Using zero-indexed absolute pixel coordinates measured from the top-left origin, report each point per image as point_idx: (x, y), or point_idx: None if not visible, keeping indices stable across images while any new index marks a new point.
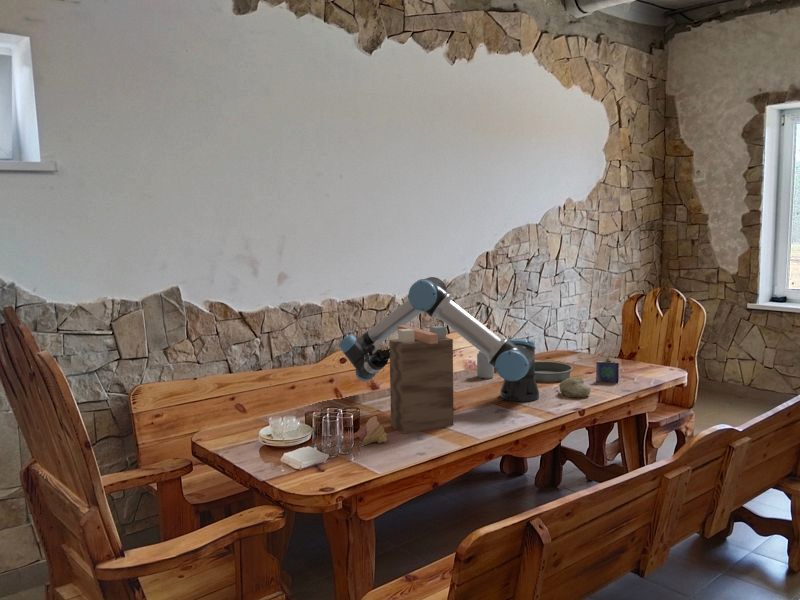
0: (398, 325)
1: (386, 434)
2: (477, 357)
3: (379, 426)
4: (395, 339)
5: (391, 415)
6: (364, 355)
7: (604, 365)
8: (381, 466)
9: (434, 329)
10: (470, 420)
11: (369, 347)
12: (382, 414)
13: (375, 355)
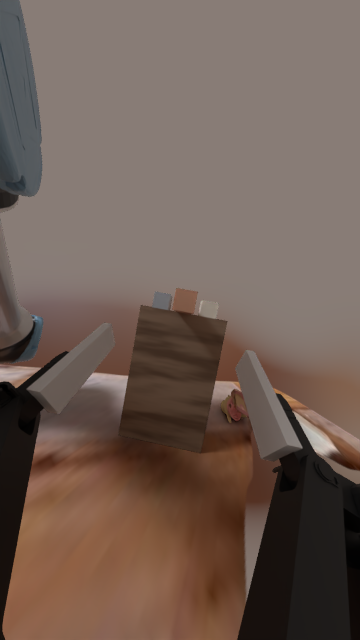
0: (195, 291)
1: (222, 401)
2: None
3: (230, 396)
4: (216, 319)
5: (203, 435)
6: (352, 539)
7: None
8: (230, 386)
9: (171, 298)
10: (105, 404)
11: (301, 429)
12: (188, 583)
13: (254, 587)
